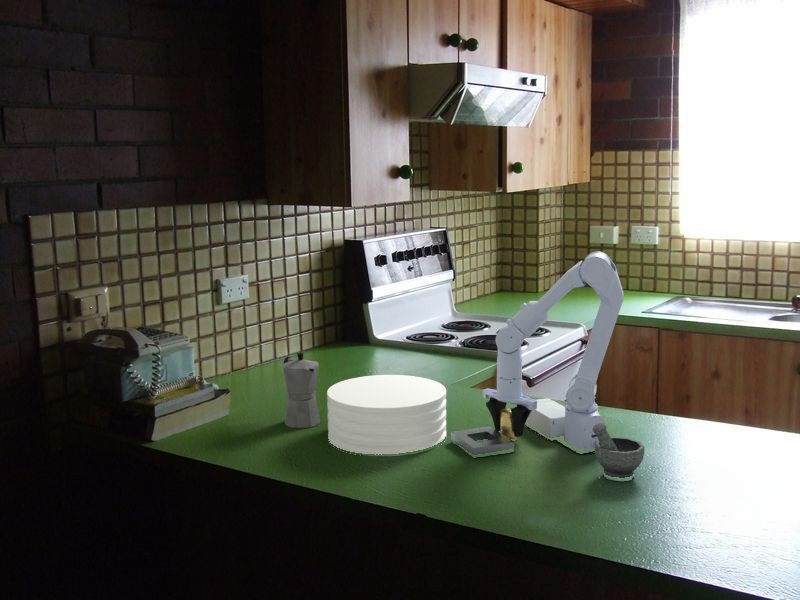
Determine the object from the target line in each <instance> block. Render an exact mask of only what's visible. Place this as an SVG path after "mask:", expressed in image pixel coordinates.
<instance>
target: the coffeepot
mask: <svg viewBox="0 0 800 600" xmlns="http://www.w3.org/2000/svg"><path fill="white" fill-rule="evenodd" d="M296 355H297V359H296V358H295V357H291V356H286V357H285V358H284V360H283V363H282V368H283V374H284V381H285V384H286V385H285V387H286V391H287V393H288V394H287V395H288V396H287V401H286V409H285V416H284V417H285V418H284V424H285V426H286V427H288V428H293V429H309V428H313V427H317V426H318V425H319V424H320V423H321V419H320V414H319V407H318V403H317V399H316V398H317V397H316V391H317V385H318V378H319V369H320V364H319V362H318V361H315V360H308V359H304V352H298V353H296Z"/></svg>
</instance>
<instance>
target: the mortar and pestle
mask: <svg viewBox="0 0 800 600" xmlns="http://www.w3.org/2000/svg"><path fill="white" fill-rule="evenodd" d="M592 430H593V432H594V433H595V434H596V436H597V438H598V441H597V442H595V452H594V453H595V458H596V460H597V461H598V463H599V464H600V466H601V468H602V469H603V471H604V473H605V474H606V475H608V476H611V477H619V478H625V477H630V476H632V475H633V474H634V475H635V472H634V471H635V470H636V469H637V468H638V467H640V465H641V463H642V461H643V460H644V456H645V445H644V444H642V443H641V441H639V440H636V439H632V438H630V437H619V436H611V435H610V433H609V432H608V431H607V425H606V426H605V424H604V423H598V424H596V425H595V426H594V427H593V429H592Z"/></svg>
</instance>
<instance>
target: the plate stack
mask: <svg viewBox="0 0 800 600" xmlns="http://www.w3.org/2000/svg"><path fill="white" fill-rule="evenodd" d="M446 398H447V388H446V387H445V385H443V384H442V383H440V382H439V381H436V380H433V379H430V378H425V377H420V376H414V375H406V374H404V375H403V374H377V375H376V374H375V375H367V376H366V375H365V376H359V377H353V378H348V379H345V380H342V381H339V382H336V383H335V384H333V385H331V386H330V387H329V388H328V389H327V391H326V399H327V402H326V403H327V405H326V406H327V407H326V409H327V421H328V422H327V431H328V433H327V435H328V436H327V437H328V438H327V439H329V440H328V442H329V441H330V442H329V444H330V443H331V444H333V445H334V446H336V447H337V448H340V449H343V450H346V451H350V452H355V453H362V454H375V455H376V454H378V455H379V454H381V455H382V454H399V453H406V452H413V451H418V450H423V449H426V448H429V447H432V446H434V445H437V444H438V443H440V442H442V441H443V440H444V439H445V437H446V438H447V409H446V408H447V399H446ZM331 444H330V445H331ZM334 446H333V447H334ZM337 448H336V449H337Z"/></svg>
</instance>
